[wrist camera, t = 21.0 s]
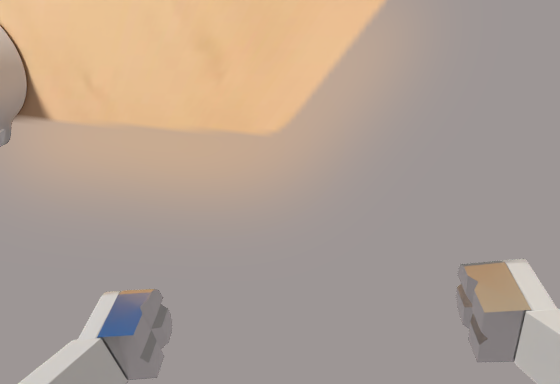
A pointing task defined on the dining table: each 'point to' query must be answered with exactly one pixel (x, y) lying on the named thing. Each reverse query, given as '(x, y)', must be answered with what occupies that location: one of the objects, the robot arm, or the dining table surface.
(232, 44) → the dining table surface
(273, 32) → the dining table surface
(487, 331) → the robot arm
